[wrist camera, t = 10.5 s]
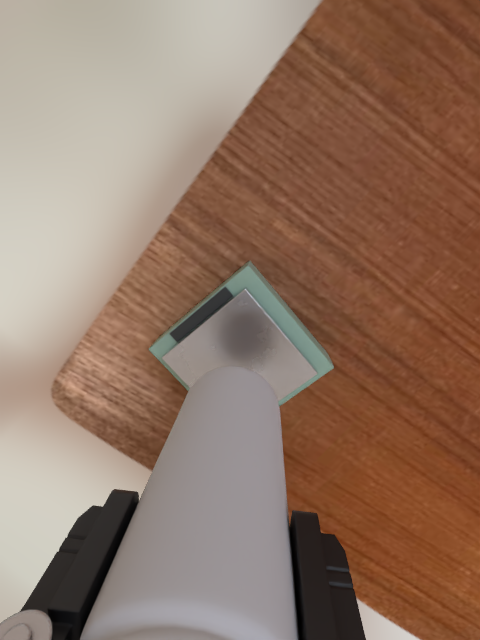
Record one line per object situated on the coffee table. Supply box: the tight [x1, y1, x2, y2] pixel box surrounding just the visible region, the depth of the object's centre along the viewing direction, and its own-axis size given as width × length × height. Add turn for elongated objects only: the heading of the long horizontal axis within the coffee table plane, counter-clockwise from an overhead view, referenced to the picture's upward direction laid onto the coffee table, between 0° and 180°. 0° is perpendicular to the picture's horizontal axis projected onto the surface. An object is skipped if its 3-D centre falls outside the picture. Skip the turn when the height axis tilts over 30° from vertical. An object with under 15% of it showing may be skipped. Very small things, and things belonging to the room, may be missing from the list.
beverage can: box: [80, 366, 299, 640], centre depth 12 cm, size 5×5×12 cm
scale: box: [149, 261, 334, 406], centre depth 25 cm, size 9×9×3 cm
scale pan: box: [162, 287, 318, 402], centre depth 23 cm, size 7×7×1 cm
